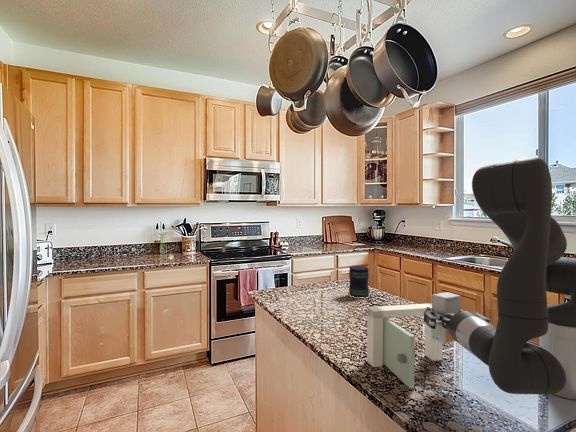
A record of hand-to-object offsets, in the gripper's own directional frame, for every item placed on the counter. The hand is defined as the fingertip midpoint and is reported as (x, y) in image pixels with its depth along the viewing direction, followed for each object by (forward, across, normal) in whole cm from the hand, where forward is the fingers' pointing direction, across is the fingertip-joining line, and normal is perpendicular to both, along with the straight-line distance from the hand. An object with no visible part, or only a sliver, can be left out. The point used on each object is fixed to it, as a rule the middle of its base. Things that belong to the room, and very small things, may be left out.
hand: (442, 310), depth 88 cm
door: (0, +13, +17) cm, 21 cm away
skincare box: (-2, 0, +7) cm, 8 cm away
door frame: (+9, +7, +18) cm, 21 cm away
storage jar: (+80, +8, +18) cm, 82 cm away
